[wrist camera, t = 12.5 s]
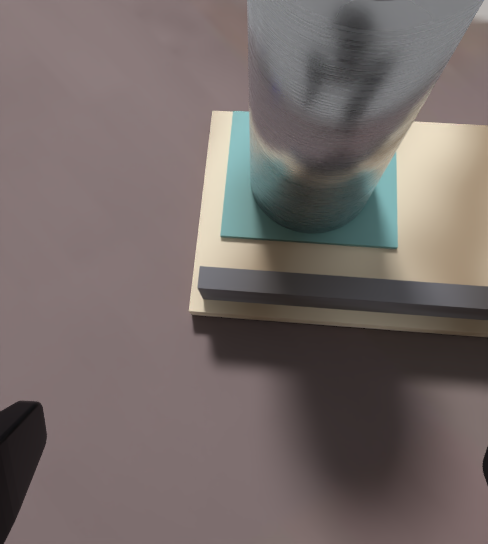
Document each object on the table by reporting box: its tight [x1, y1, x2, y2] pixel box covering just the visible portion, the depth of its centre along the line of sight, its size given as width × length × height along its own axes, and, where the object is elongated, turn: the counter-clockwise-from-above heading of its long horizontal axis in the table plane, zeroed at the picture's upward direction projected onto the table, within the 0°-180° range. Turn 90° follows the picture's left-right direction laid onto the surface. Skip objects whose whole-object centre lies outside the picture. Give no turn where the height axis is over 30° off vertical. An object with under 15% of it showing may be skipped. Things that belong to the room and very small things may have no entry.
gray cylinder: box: [247, 0, 484, 233], centre depth 13 cm, size 5×5×11 cm
